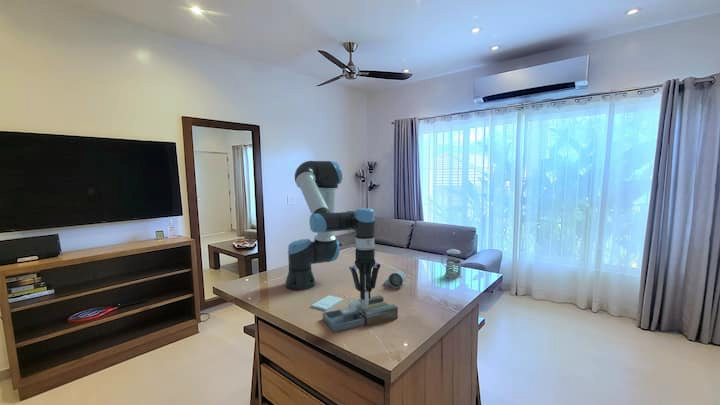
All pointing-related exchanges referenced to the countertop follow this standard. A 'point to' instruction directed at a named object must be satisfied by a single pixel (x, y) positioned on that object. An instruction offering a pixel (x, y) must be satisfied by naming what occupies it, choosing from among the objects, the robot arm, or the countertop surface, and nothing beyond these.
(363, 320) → the chip tray
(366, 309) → the slot board
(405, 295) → the countertop surface
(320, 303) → the external hard drive
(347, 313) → the aluminium chip
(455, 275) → the french press
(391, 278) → the ceramic mug
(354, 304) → the aluminium chip
